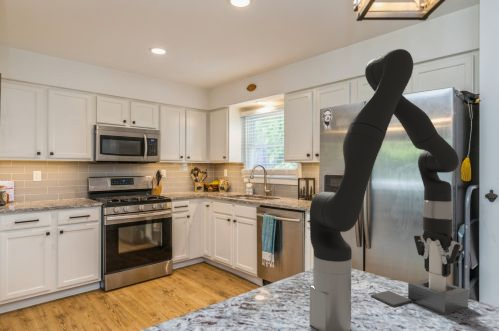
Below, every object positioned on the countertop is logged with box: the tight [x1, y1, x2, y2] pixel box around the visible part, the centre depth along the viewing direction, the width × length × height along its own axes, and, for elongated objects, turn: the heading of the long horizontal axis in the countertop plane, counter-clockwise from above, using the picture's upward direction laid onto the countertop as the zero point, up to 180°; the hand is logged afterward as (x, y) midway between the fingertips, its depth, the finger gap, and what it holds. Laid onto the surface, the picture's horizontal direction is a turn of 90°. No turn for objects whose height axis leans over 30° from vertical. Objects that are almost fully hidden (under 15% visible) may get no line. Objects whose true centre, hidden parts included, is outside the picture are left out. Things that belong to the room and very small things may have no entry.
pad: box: [370, 290, 412, 308], centre depth 94 cm, size 8×8×1 cm
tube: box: [428, 241, 447, 293], centre depth 92 cm, size 4×4×15 cm
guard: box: [407, 278, 469, 316], centre depth 92 cm, size 11×11×5 cm
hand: (437, 273), depth 92 cm, fingers closed on tube, 4 cm apart
